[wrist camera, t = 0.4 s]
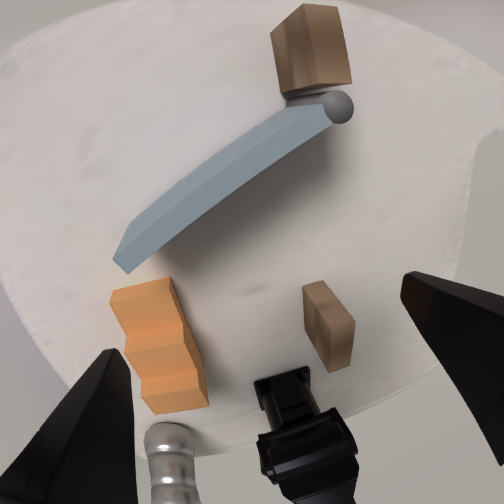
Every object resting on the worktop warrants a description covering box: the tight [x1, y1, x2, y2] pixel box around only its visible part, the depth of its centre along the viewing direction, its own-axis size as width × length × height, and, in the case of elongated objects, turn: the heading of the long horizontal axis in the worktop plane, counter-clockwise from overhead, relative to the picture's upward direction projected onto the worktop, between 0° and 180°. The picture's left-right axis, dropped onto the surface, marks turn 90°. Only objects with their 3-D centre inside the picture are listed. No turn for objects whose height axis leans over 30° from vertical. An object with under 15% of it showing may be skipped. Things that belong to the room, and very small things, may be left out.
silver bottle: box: [144, 423, 201, 504], centre depth 22 cm, size 6×7×20 cm
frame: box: [270, 4, 355, 373], centre depth 18 cm, size 26×2×6 cm, turn 9°
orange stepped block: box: [109, 277, 209, 415], centre depth 21 cm, size 10×5×6 cm, turn 9°
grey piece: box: [113, 91, 354, 274], centre depth 15 cm, size 15×2×6 cm, turn 124°
